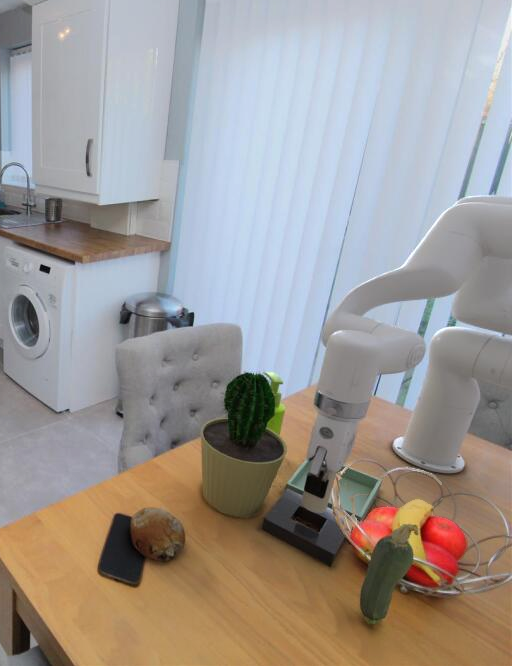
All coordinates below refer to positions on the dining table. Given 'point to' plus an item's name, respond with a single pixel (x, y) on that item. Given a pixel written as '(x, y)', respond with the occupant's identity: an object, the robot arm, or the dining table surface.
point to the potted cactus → (241, 448)
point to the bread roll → (157, 534)
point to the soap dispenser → (280, 407)
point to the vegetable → (386, 572)
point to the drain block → (305, 528)
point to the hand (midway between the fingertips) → (318, 486)
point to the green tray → (343, 488)
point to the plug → (315, 502)
